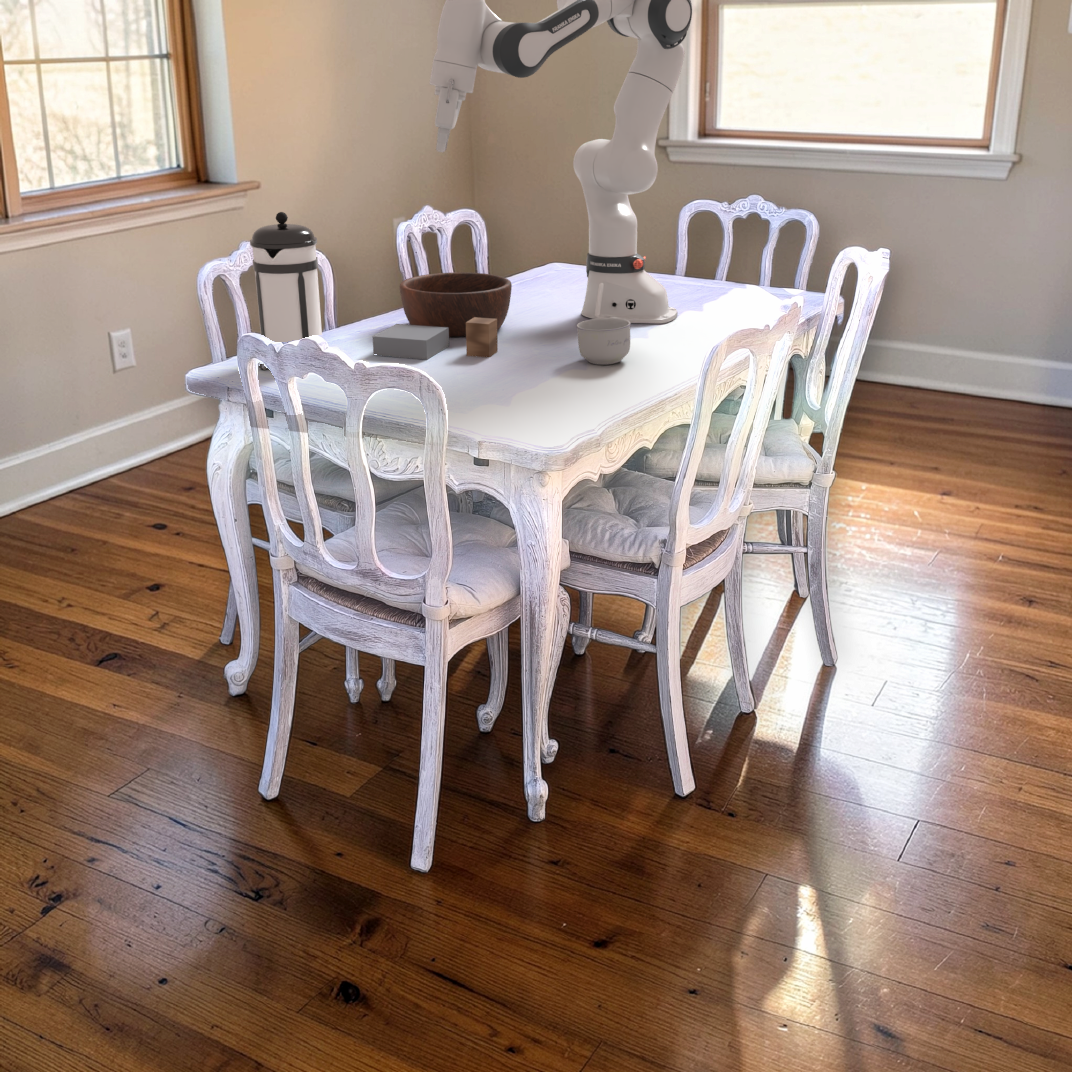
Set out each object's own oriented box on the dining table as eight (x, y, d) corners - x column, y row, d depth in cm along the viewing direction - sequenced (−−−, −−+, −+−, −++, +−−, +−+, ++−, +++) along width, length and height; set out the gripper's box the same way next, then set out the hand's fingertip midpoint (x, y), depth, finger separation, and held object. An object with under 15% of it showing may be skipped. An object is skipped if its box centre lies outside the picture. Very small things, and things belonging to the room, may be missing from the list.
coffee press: (348, 365, 243) (338, 212, 232) (272, 377, 235) (258, 219, 224) (313, 348, 257) (302, 203, 245) (241, 359, 249) (226, 209, 237)
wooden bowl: (532, 323, 279) (532, 278, 275) (472, 345, 259) (471, 297, 255) (443, 311, 290) (441, 268, 286) (379, 332, 271) (376, 286, 267)
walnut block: (497, 352, 254) (497, 318, 251) (489, 357, 249) (488, 324, 246) (475, 350, 255) (474, 317, 252) (466, 355, 251) (465, 322, 248)
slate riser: (449, 346, 258) (448, 327, 257) (427, 359, 248) (426, 340, 246) (397, 342, 262) (396, 323, 260) (373, 355, 251) (372, 336, 250)
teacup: (613, 370, 239) (614, 330, 236) (566, 363, 244) (566, 324, 241) (646, 355, 250) (647, 317, 247) (600, 349, 255) (600, 311, 252)
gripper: (467, 82, 233) (455, 155, 238) (468, 84, 253) (457, 152, 257) (435, 75, 233) (423, 149, 237) (438, 78, 252) (427, 146, 256)
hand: (440, 151), depth 247 cm, fingers open, 8 cm apart
